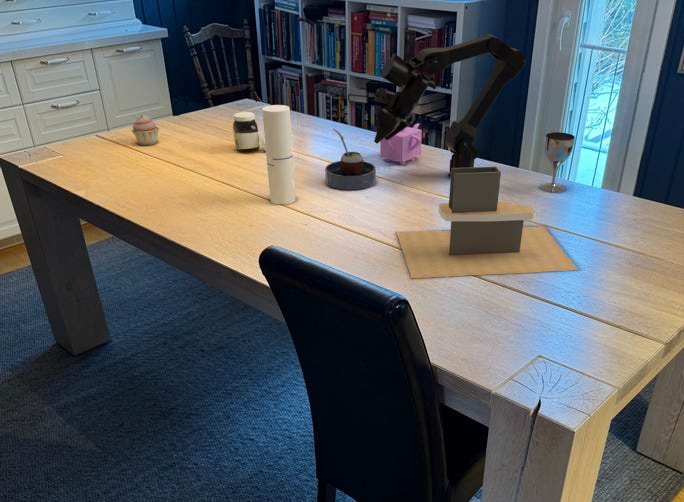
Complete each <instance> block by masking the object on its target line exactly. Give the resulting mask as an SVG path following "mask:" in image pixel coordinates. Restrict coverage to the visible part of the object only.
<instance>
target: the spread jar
mask: <svg viewBox="0 0 684 502" xmlns="http://www.w3.org/2000/svg"><path fill="white" fill-rule="evenodd" d="M233 120H234V121H233V123H232V134H233V141H234V146H235V150H236V151H237V152H239V153H244V154H250V153H254V152H257V151H258V150H260V145H261V147H262V148H263V150H264V151H265V152H266V145H265V134H264V129H261V130H259V127H258V124H257V121H256V119H255V113H253V112H250V111H241V112H237V113H234V114H233Z"/></svg>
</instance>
